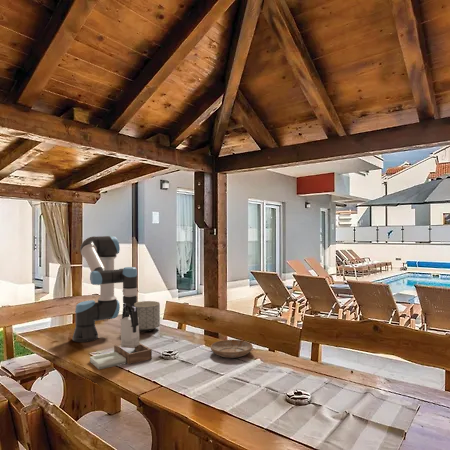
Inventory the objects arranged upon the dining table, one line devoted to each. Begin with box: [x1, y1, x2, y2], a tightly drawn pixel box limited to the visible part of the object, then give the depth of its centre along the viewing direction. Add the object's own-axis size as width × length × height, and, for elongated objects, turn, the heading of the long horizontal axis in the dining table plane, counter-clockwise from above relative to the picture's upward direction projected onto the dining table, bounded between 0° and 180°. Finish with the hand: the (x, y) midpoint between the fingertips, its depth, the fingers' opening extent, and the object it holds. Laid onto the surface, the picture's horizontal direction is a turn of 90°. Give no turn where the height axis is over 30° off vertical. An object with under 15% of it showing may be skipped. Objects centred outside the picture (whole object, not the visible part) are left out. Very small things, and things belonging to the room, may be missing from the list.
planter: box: [134, 300, 161, 333], centre depth 260 cm, size 19×19×18 cm
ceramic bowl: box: [210, 339, 253, 359], centre depth 210 cm, size 23×24×5 cm
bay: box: [113, 342, 153, 365], centre depth 207 cm, size 20×13×5 cm, turn 37°
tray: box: [89, 351, 127, 370], centre depth 197 cm, size 14×14×3 cm
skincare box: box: [119, 316, 141, 349], centre depth 209 cm, size 8×7×16 cm
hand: (129, 335), depth 209 cm, fingers closed on skincare box, 10 cm apart
